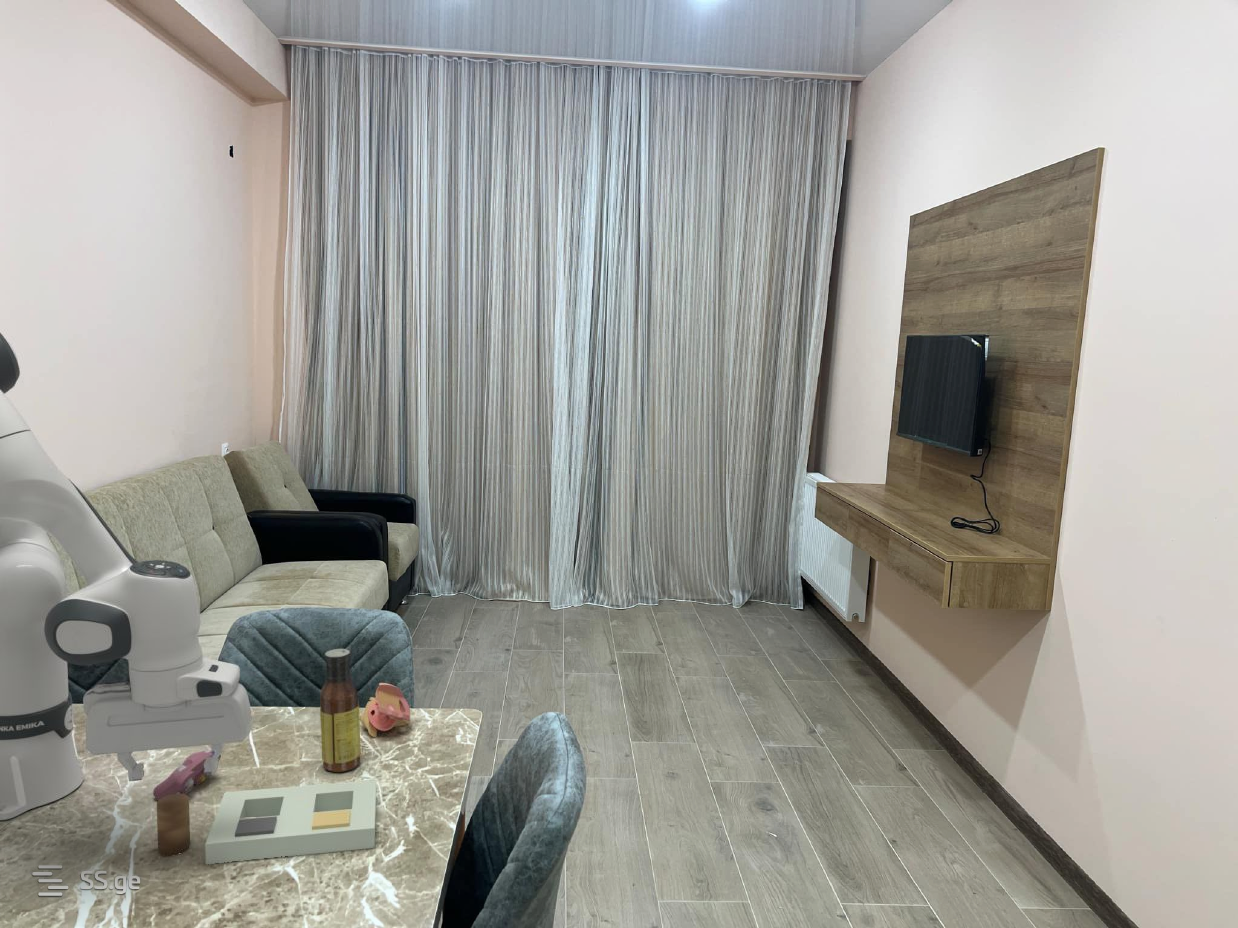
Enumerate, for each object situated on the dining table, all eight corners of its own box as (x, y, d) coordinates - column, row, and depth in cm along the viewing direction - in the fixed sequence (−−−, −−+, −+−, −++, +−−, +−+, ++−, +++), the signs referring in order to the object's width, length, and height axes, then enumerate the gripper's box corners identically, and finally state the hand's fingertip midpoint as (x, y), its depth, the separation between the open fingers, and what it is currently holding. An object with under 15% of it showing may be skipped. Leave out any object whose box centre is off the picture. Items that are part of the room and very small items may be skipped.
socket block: (205, 864, 117) (205, 840, 116) (224, 810, 130) (224, 788, 130) (374, 847, 123) (374, 824, 122) (376, 797, 136) (376, 776, 136)
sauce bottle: (366, 758, 149) (367, 647, 146) (351, 775, 143) (352, 660, 140) (329, 754, 149) (329, 644, 147) (313, 772, 143) (313, 657, 141)
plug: (154, 857, 118) (153, 809, 117) (162, 841, 122) (160, 794, 121) (186, 854, 119) (185, 806, 118) (192, 838, 123) (192, 792, 122)
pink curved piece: (171, 813, 132) (189, 778, 130) (148, 797, 132) (165, 761, 131) (214, 782, 141) (230, 749, 140) (191, 767, 142) (208, 734, 140)
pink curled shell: (347, 740, 156) (351, 690, 162) (391, 751, 163) (394, 702, 169) (379, 724, 152) (383, 673, 158) (423, 736, 159) (425, 687, 164)
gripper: (73, 695, 111) (81, 795, 113) (243, 682, 116) (248, 778, 118) (90, 676, 117) (98, 771, 119) (251, 665, 122) (256, 756, 124)
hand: (174, 775), depth 119 cm, fingers open, 8 cm apart
